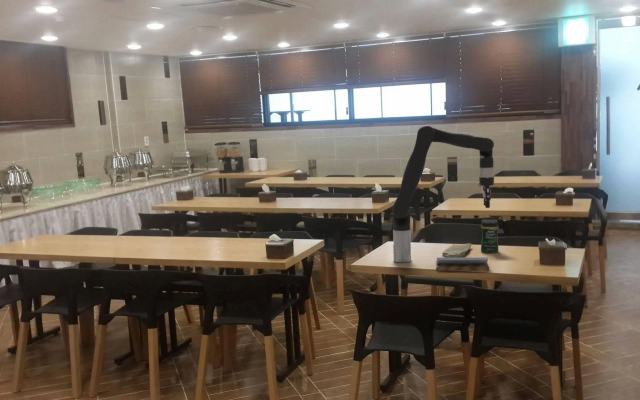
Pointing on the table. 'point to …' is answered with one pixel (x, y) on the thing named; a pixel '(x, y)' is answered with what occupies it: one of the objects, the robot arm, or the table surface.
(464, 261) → the tilted plank
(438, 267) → the floor board
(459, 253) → the stone slab
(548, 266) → the table surface
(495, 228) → the coffee jar
